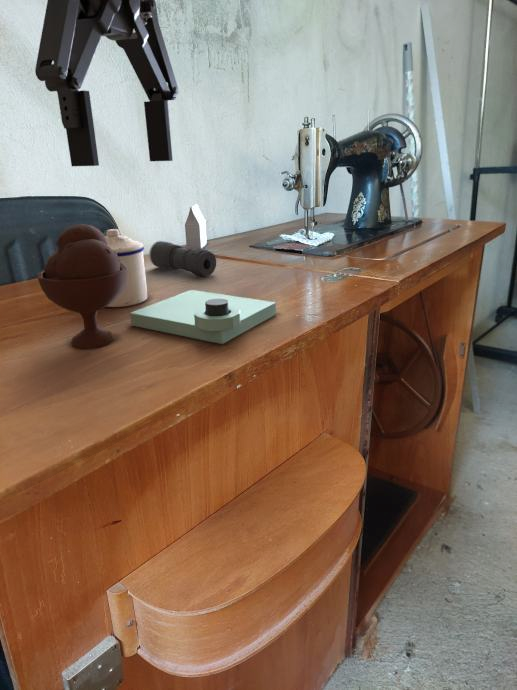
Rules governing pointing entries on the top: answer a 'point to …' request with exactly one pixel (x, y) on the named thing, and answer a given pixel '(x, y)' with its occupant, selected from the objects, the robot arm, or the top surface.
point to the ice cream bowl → (84, 279)
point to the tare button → (217, 307)
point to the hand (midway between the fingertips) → (127, 163)
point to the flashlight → (182, 258)
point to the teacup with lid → (129, 269)
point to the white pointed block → (195, 229)
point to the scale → (203, 316)
